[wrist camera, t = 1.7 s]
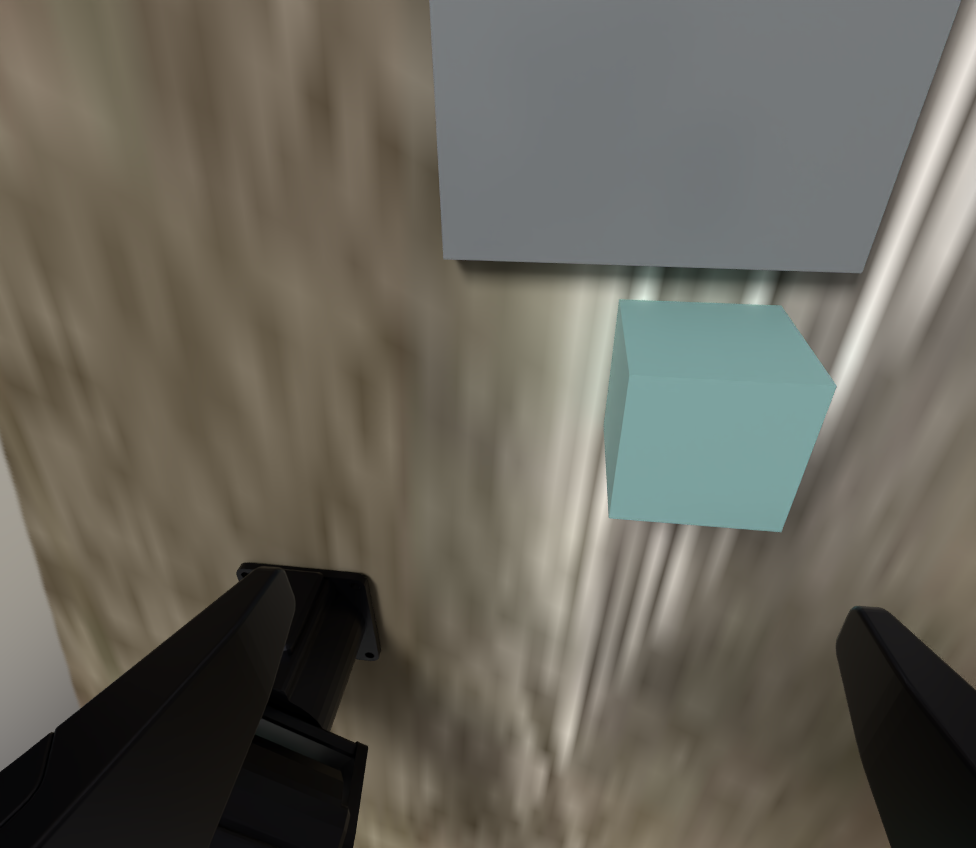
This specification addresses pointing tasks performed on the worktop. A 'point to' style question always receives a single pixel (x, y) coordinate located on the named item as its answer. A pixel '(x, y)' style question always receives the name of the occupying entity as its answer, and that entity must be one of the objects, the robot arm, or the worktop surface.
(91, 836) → the robot arm
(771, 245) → the pad
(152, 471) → the worktop surface
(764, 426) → the block
